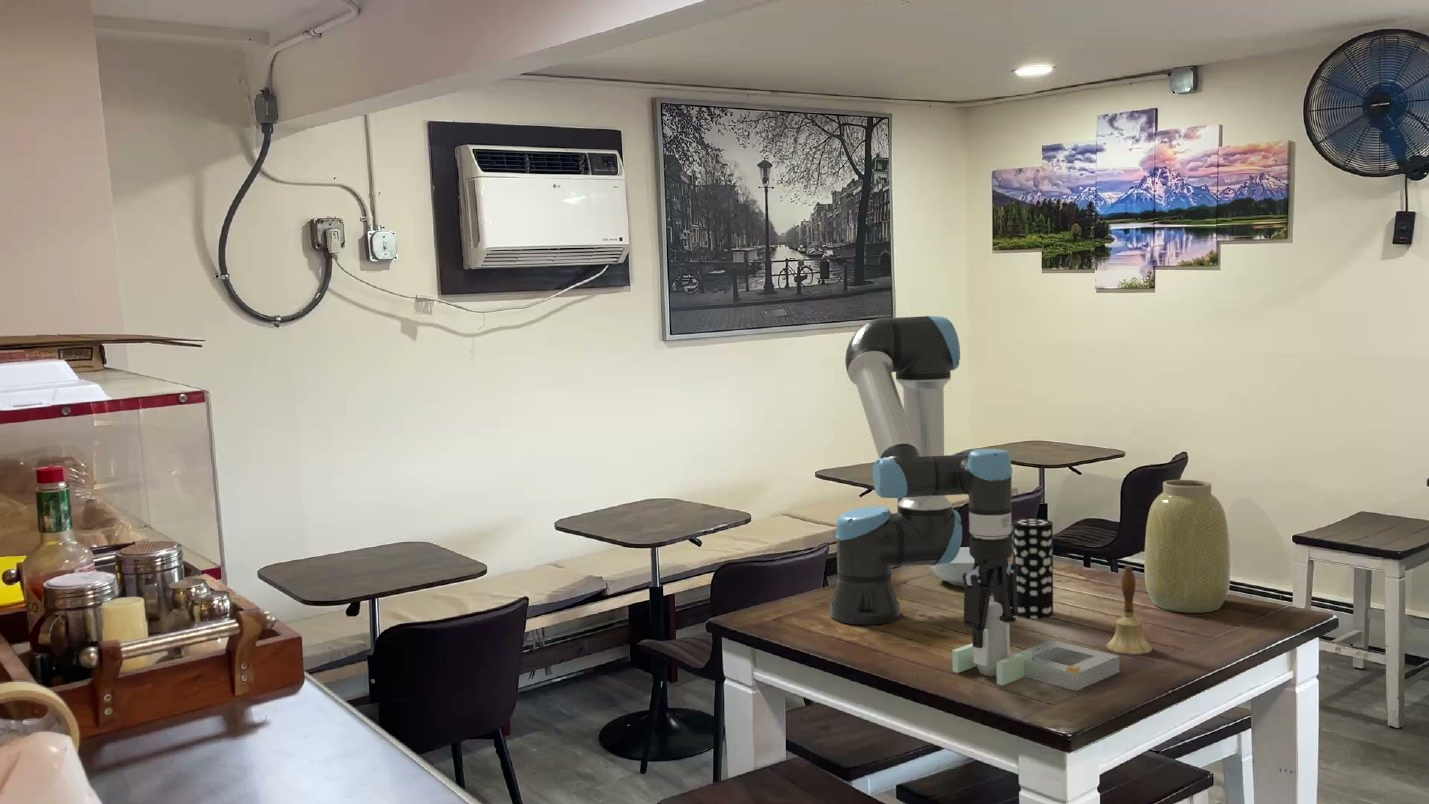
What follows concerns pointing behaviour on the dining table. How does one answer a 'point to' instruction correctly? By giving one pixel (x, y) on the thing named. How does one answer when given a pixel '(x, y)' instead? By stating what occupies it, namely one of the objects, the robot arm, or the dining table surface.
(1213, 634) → the dining table surface
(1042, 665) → the socket
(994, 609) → the salt shaker
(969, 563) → the cereal bowl
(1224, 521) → the vase
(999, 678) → the pale green rectangular blocks
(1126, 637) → the hand bell
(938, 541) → the robot arm
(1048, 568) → the white-spotted black cylinder
